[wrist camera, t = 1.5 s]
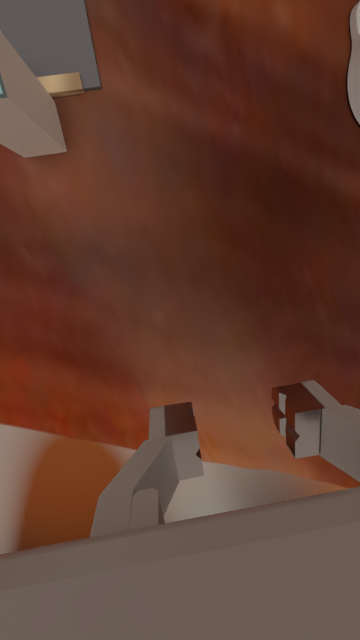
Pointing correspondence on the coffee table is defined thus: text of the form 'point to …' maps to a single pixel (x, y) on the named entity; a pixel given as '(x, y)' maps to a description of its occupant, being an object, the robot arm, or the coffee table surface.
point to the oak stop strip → (62, 84)
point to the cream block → (26, 109)
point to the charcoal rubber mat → (51, 37)
